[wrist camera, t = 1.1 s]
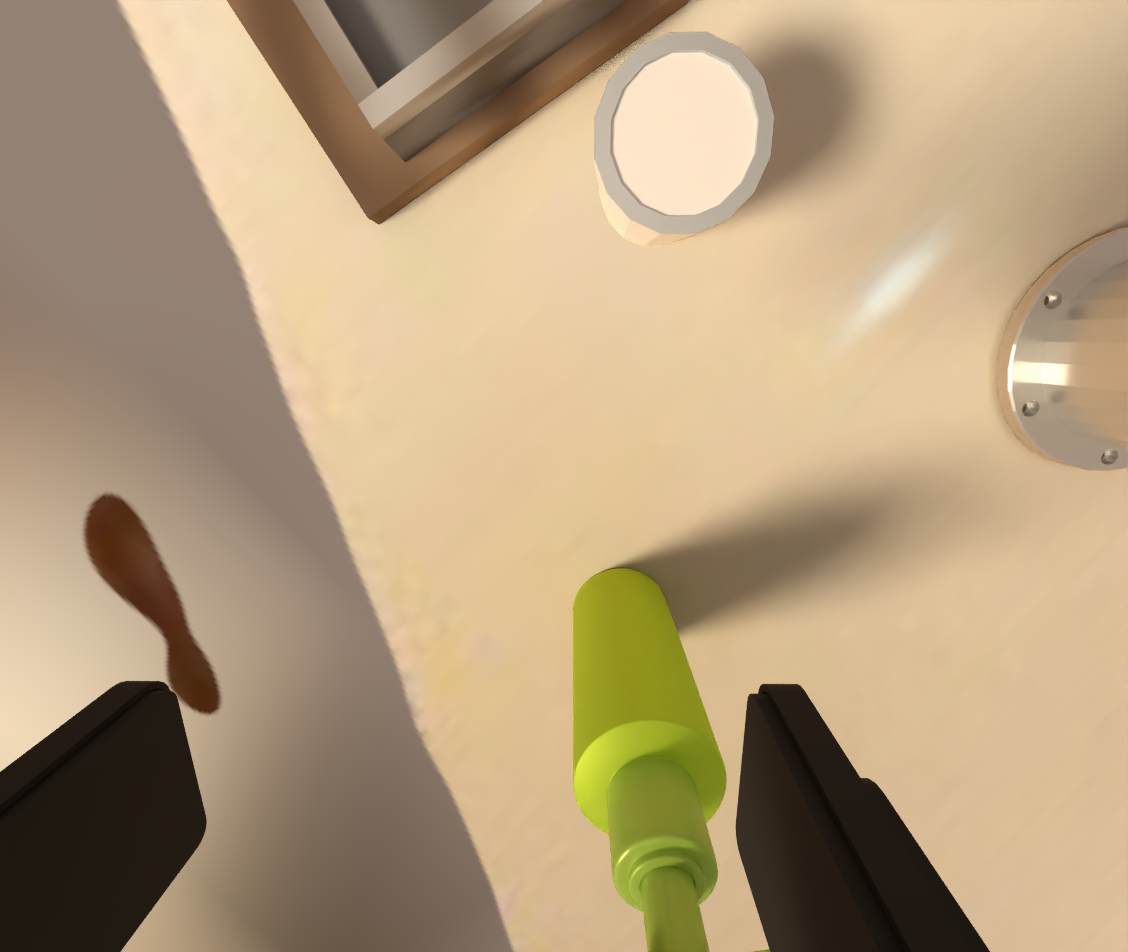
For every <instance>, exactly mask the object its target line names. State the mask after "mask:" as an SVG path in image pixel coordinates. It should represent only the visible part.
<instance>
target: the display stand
mask: <svg viewBox="0 0 1128 952" xmlns="http://www.w3.org/2000/svg"><path fill="white" fill-rule="evenodd" d="M227 1H228V3H229V5H230V6H231V8H232V9H233V11H234V12H235V14H236V15H237V17H238V18H239V20H240V21H241V23H242V25H243V26H244V28H245V29H246V31H247V32H248V34H249V35H250V37H251V38H252V40H253V42H254V43H255V45H256V46H257V48H258V49H259V51H260V52H261V54H262V55H263V57H264V58H265V60H266V62H267V63H268V65H269V66H270V68H271V69H272V71H273V72H274V74H275V75H276V77H277V78H278V80H279V82H280V83H281V85H282V86H283V88H284V89H285V91H286V92H287V94H288V95H289V97H290V99H291V100H292V102H293V103H294V105H295V106H296V108H297V109H298V111H299V112H300V114H301V115H302V117H303V119H304V120H305V122H306V123H307V125H308V126H309V128H310V129H311V131H312V132H313V134H314V136H315V137H316V139H317V140H318V142H319V143H320V145H321V146H322V148H323V149H324V151H325V152H326V154H327V156H328V157H329V159H330V160H331V162H332V163H333V165H334V166H335V168H336V169H337V171H338V173H339V174H340V176H341V177H342V179H343V180H344V182H345V183H346V185H347V186H348V188H349V189H350V191H351V193H352V194H353V196H354V197H355V199H356V200H357V202H358V203H359V205H360V206H361V208H362V210H363V211H364V213H365V214H366V216H367V217H368V218H369V219H370V220H372V221H374V222H376V223H377V224H380V223H382V222H383V221H385V220H386V219H387V218H389V217H390V216H391V215H393V214H394V213H396V212H397V211H398V210H400V209H401V208H403V207H404V206H405V205H407V204H408V203H410V202H411V201H412V200H414V199H415V198H417V197H418V196H419V195H421V194H422V193H423V192H425V191H426V190H428V189H429V188H430V187H432V186H433V185H435V184H436V183H437V182H439V181H440V180H442V179H443V178H444V177H446V176H447V175H449V174H450V173H451V172H453V171H454V170H456V169H457V168H458V167H460V166H461V165H462V164H464V163H465V162H467V161H468V160H469V159H471V158H472V157H474V156H475V155H476V154H478V153H479V152H481V151H482V150H483V149H485V148H486V147H488V146H489V145H490V144H492V143H493V142H494V141H496V140H497V139H499V138H500V137H501V136H503V135H504V134H506V133H507V132H508V131H510V130H511V129H513V128H514V127H515V126H517V125H518V124H520V123H521V122H522V121H524V120H525V119H527V118H528V117H529V116H531V115H532V114H533V113H535V112H536V111H538V110H539V109H540V108H542V107H543V106H545V105H546V104H547V103H549V102H550V101H552V100H553V99H554V98H556V97H557V96H559V95H560V94H561V93H563V92H564V91H565V90H567V89H568V88H570V87H571V86H572V85H574V84H575V83H577V82H578V81H579V80H581V79H582V78H584V77H585V76H586V75H588V74H589V73H591V72H592V71H593V70H595V69H596V68H597V67H599V66H600V65H602V64H603V63H604V62H606V61H607V60H609V59H610V58H611V57H613V56H614V55H616V54H617V53H618V52H620V51H621V50H623V49H624V48H625V47H627V46H628V45H630V44H631V43H632V42H634V41H635V40H636V39H638V38H639V37H641V36H642V35H643V34H645V33H646V32H648V31H649V30H650V29H652V28H653V27H655V26H656V25H657V24H659V23H660V22H662V21H663V20H664V19H666V18H667V17H668V16H670V15H671V14H673V13H674V12H675V11H677V10H678V9H680V8H681V7H682V6H684V5H685V4H687V2H688V0H227Z"/></svg>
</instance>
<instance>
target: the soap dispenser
mask: <svg viewBox="0 0 1128 952" xmlns="http://www.w3.org/2000/svg"><path fill="white" fill-rule="evenodd" d="M573 787H574V794H575V798H576V801H577V803H578V805H579V807H580V809H581V811H582V812H583V814H584V815H585V817H586V818H587V819H588V820H589V821H590V822H591V823H592V824H593V825H594V826H596V827H597V828H598V829H600V830H601V831H603V832H604V833H606V834H608V835H609V836H610V850H611V863H612V874H613V880H614V884H615V887H616V889H617V891H618V893H619V894H620V896H621V897H622V898H623V899H624V900H625V901H626V902H627V903H628V904H630V905H631V906H633V907H634V908H636V909H638V910H641V911H643V915H644V923H645V931H646V939H647V947H648V952H709V948H708V943H707V939H706V934H705V930H704V925H703V921H702V916H701V912H700V907H699V904H701V903H702V902H703V901H705V900H706V899H707V898H708V896H709V895H710V894H711V892H712V891H713V889H714V887H715V885H716V881H717V876H718V870H717V863H716V859H715V855H714V851H713V847H712V844H711V840H710V836H709V833H708V829H707V825H706V822H707V821H708V820H709V819H710V818H711V817H712V816H713V815H714V814H715V812H716V811H717V809H718V808H719V806H720V804H721V802H722V800H723V797H724V794H725V790H726V770H725V766H724V763H723V760H722V757H721V754H720V751H719V749H718V746H717V743H716V740H715V737H714V734H713V732H712V729H711V726H710V723H709V720H708V717H707V715H706V712H705V709H704V706H703V703H702V700H701V698H700V695H699V692H698V689H697V686H696V683H695V681H694V678H693V675H692V672H691V669H690V666H689V664H688V661H687V658H686V655H685V652H684V649H683V647H682V644H681V641H680V638H679V635H678V632H677V630H676V627H675V624H674V621H673V618H672V615H671V613H670V610H669V607H668V604H667V601H666V598H665V596H664V594H663V592H662V590H661V588H660V587H659V586H658V584H657V583H656V582H655V581H654V580H653V579H651V578H650V577H648V576H647V575H645V574H643V573H641V572H639V571H636V570H632V569H624V568H618V569H610V570H606V571H603V572H601V573H598V574H597V575H595V576H593V577H592V578H590V579H589V580H588V581H587V582H586V583H585V584H584V585H583V586H582V587H581V589H580V590H579V592H578V594H577V596H576V598H575V601H574V606H573ZM755 952H770V949H768V950H762V951H755Z"/></svg>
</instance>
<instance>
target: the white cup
mask: <svg viewBox="0 0 1128 952" xmlns="http://www.w3.org/2000/svg"><path fill="white" fill-rule="evenodd" d="M773 125H774V114H773V110H772V106H771V103H770V99H769V96H768V92H767V88H766V85H765V81H764V78H763V77H762V75H761V74H760V73H759V72H758V70H757V69H756V68H755V66H754V65H753V64H752V63H751V61H750V60H749V59H748V58H747V56H746V55H745V54H744V52H743V51H742V50H741V49H740V48H739V47H737V46H735V45H733V44H731V43H729V42H727V41H725V40H722V39H720V38H718V37H716V36H714V35H712V34H710V33H708V32H670V33H668V34H665V35H663V36H661V37H659V38H657V39H655V40H653V41H651V42H649V43H647V44H645V45H643V46H641V47H639V48H637V49H635V50H634V51H633V53H632V54H631V55H630V56H629V57H628V58H627V59H626V61H625V62H624V63H623V64H622V65H621V66H620V67H619V69H618V70H617V71H616V72H615V73H614V74H613V75H612V77H611V78H610V79H609V81H608V83H607V86H606V89H605V91H604V94H603V97H602V99H601V102H600V105H599V107H598V110H597V113H596V115H595V125H594V160H595V167H596V173H597V180H598V186H599V193H600V199H601V202H602V205H603V208H604V210H605V213H606V216H607V219H608V221H609V222H610V224H611V225H612V226H613V227H614V228H615V229H616V230H617V231H618V232H619V234H620V235H621V236H622V237H623V238H625V239H628V240H630V241H632V242H634V243H637V244H639V245H641V246H665V245H668V244H670V243H673V242H675V241H678V240H680V239H683V238H686V237H688V236H691V235H693V234H696V233H698V232H700V231H703V230H705V229H707V228H709V227H712V226H714V225H716V224H718V223H721V222H723V221H725V220H728V219H729V218H730V217H731V216H732V215H733V214H734V212H735V211H736V210H737V209H738V208H739V207H740V206H741V205H742V204H743V203H744V202H745V201H746V200H747V199H748V198H749V197H750V196H751V195H752V194H753V193H754V192H755V190H756V187H757V185H758V183H759V181H760V179H761V177H762V174H763V172H764V170H765V168H766V166H767V164H768V161H769V159H770V157H771V147H772V136H773Z"/></svg>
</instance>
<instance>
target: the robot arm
mask: <svg viewBox="0 0 1128 952" xmlns="http://www.w3.org/2000/svg"><path fill="white" fill-rule="evenodd" d="M996 384H997V393H998V400H999V403H1000V406H1001V409H1002V412H1003V415H1004V418H1005V420H1006V422H1007V423H1008V425H1009V426H1010V428H1011V430H1012V431H1013V433H1014V434H1015V436H1016V437H1017V438H1018V439H1019V440H1021V441H1022V442H1023V443H1024V444H1025V445H1026V446H1027V447H1028V448H1029V449H1030V450H1032V451H1034V452H1035V453H1037V454H1039V455H1040V456H1042V457H1044V458H1045V459H1048V460H1051V461H1054V462H1057V463H1060V464H1063V465H1068V466H1072V467H1077V468H1081V469H1086V470H1099V471H1110V470H1116V469H1123V468H1128V227H1124V228H1119V229H1116V230H1113V231H1111V232H1108V233H1105V234H1103V235H1100V236H1097V237H1095V238H1092V239H1091V240H1089V241H1087V242H1085V243H1084V244H1082V245H1080V246H1078V247H1077V248H1075V249H1073V250H1071V251H1070V252H1068V253H1067V254H1066V255H1065V256H1063V257H1062V258H1061V259H1059V260H1058V261H1057V262H1056V263H1054V264H1053V265H1052V266H1051V267H1049V268H1048V269H1047V270H1046V271H1045V272H1044V274H1043V275H1042V276H1041V277H1040V278H1039V279H1038V280H1037V281H1036V282H1035V283H1034V284H1033V285H1032V286H1031V288H1030V289H1029V290H1028V292H1027V293H1026V295H1025V296H1024V298H1023V299H1022V301H1021V302H1020V303H1019V305H1018V306H1017V308H1016V309H1015V311H1014V313H1013V315H1012V318H1011V320H1010V322H1009V324H1008V326H1007V328H1006V330H1005V333H1004V336H1003V339H1002V343H1001V347H1000V350H999V354H998V361H997V372H996ZM205 830H206V815H205V811H204V806H203V802H202V798H201V794H200V790H199V786H198V782H197V778H196V773H195V769H194V765H193V761H192V757H191V753H190V748H189V745H188V740H187V736H186V732H185V728H184V724H183V719H182V715H181V711H180V707H179V703H178V699H177V696H176V694H175V693H174V692H172V691H170V689H169V687H168V686H167V685H166V684H165V683H164V682H160V681H125V682H121V683H119V684H116V685H115V686H113V687H112V688H110V689H109V690H108V691H106V692H105V693H104V694H102V695H101V696H100V697H98V698H97V699H96V700H95V701H93V702H92V703H90V704H89V705H88V706H87V707H85V708H84V709H83V710H81V711H80V712H79V713H77V714H76V715H75V716H73V717H72V718H71V719H69V720H68V721H67V722H65V723H64V724H63V725H61V726H60V727H59V728H58V729H56V730H55V731H54V732H52V733H51V734H50V735H48V736H47V737H46V738H44V739H43V740H42V741H40V742H39V743H38V744H36V745H35V746H34V747H32V748H31V749H30V750H29V751H27V752H26V753H25V754H23V755H22V756H21V757H19V758H18V759H17V760H15V761H14V762H13V763H11V764H10V765H9V766H7V767H6V768H5V769H4V770H2V771H1V772H0V952H121V950H122V949H123V947H124V946H125V945H126V943H127V942H128V941H129V939H130V938H131V937H132V935H133V934H134V933H135V931H136V930H137V929H138V927H139V925H140V924H141V923H142V922H143V920H144V919H145V918H146V916H147V915H148V914H149V912H150V911H151V910H152V908H153V907H154V906H155V904H156V903H157V902H158V900H159V899H160V897H161V896H162V895H163V893H164V892H165V891H166V889H167V888H168V887H169V885H170V884H171V883H172V881H173V880H174V879H175V877H176V876H177V874H178V873H179V872H180V870H181V869H182V868H183V866H184V865H185V864H186V862H187V861H188V860H189V858H190V857H191V856H192V854H193V853H194V851H195V850H196V849H197V847H198V846H199V844H200V843H201V840H202V838H203V836H204V833H205ZM736 838H737V844H738V849H739V853H740V856H741V860H742V863H743V866H744V869H745V872H746V876H747V879H748V882H749V885H750V888H751V892H752V895H753V898H754V901H755V904H756V907H757V911H758V914H759V917H760V920H761V923H762V927H763V930H764V933H765V936H766V939H767V942H768V946H769V949H770V952H990V951H989V949H988V948H987V946H986V945H985V943H984V942H983V940H982V939H981V937H980V936H979V934H978V933H977V931H976V930H975V928H974V927H973V925H972V924H971V923H970V921H969V920H968V918H967V917H966V915H965V914H964V912H963V911H962V909H961V908H960V906H959V905H958V903H957V902H956V900H955V899H954V897H953V896H952V894H951V893H950V891H949V890H948V888H947V887H946V885H945V884H944V882H943V881H942V879H941V878H940V876H939V875H938V873H937V872H936V870H935V869H934V867H933V866H932V864H931V863H930V861H929V860H928V858H927V857H926V855H925V854H924V852H923V851H922V849H921V848H920V846H919V845H918V843H917V842H916V840H915V839H914V837H913V836H912V834H911V833H910V831H909V830H908V828H907V827H906V825H905V824H904V822H903V821H902V819H901V818H900V817H899V815H898V814H897V812H896V811H895V809H894V808H893V806H892V805H891V803H890V802H889V800H888V799H887V797H886V796H885V794H884V793H883V792H882V790H881V789H880V788H879V787H878V785H877V784H876V783H874V782H873V781H871V780H870V779H868V778H860V777H859V775H858V774H857V772H856V770H855V769H854V767H853V766H852V764H851V763H850V761H849V759H848V758H847V756H846V755H845V753H844V752H843V750H842V749H841V747H840V745H839V744H838V742H837V741H836V739H835V738H834V736H833V734H832V733H831V731H830V730H829V728H828V727H827V725H826V724H825V722H824V720H823V719H822V717H821V716H820V714H819V713H818V711H817V709H816V708H815V706H814V705H813V703H812V702H811V700H810V699H809V697H808V695H807V694H806V692H805V691H804V689H803V688H802V687H801V686H800V685H798V684H762V685H761V686H760V688H759V692H758V694H749V696H748V701H747V710H746V721H745V732H744V742H743V753H742V764H741V775H740V785H739V796H738V807H737V817H736Z"/></svg>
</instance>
